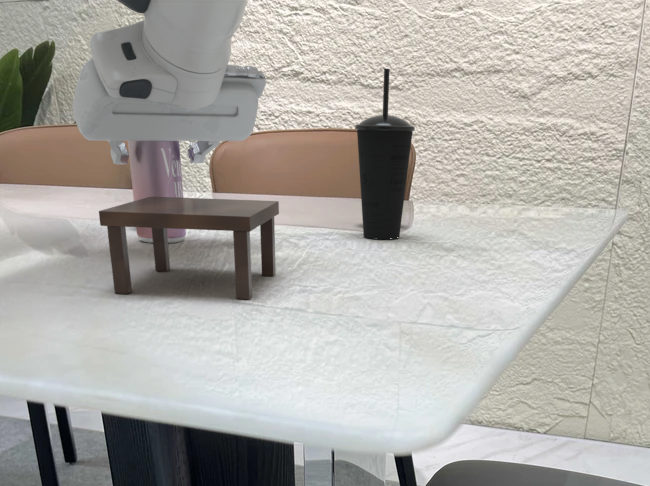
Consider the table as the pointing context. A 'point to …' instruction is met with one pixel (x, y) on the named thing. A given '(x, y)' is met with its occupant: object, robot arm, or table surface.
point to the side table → (192, 216)
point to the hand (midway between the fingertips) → (157, 159)
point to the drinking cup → (383, 169)
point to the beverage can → (156, 178)
